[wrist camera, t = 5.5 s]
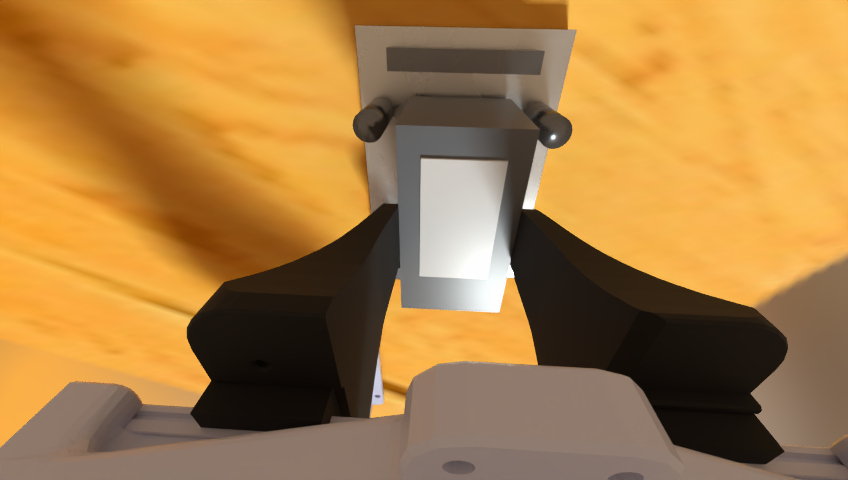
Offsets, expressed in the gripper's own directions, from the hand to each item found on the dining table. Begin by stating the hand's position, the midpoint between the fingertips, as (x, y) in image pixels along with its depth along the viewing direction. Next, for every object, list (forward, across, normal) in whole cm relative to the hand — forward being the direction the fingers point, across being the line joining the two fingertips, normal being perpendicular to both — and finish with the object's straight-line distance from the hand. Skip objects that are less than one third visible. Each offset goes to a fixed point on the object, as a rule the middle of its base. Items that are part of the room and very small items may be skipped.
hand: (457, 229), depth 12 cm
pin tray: (+6, 0, 0) cm, 6 cm away
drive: (+5, 0, 0) cm, 5 cm away
